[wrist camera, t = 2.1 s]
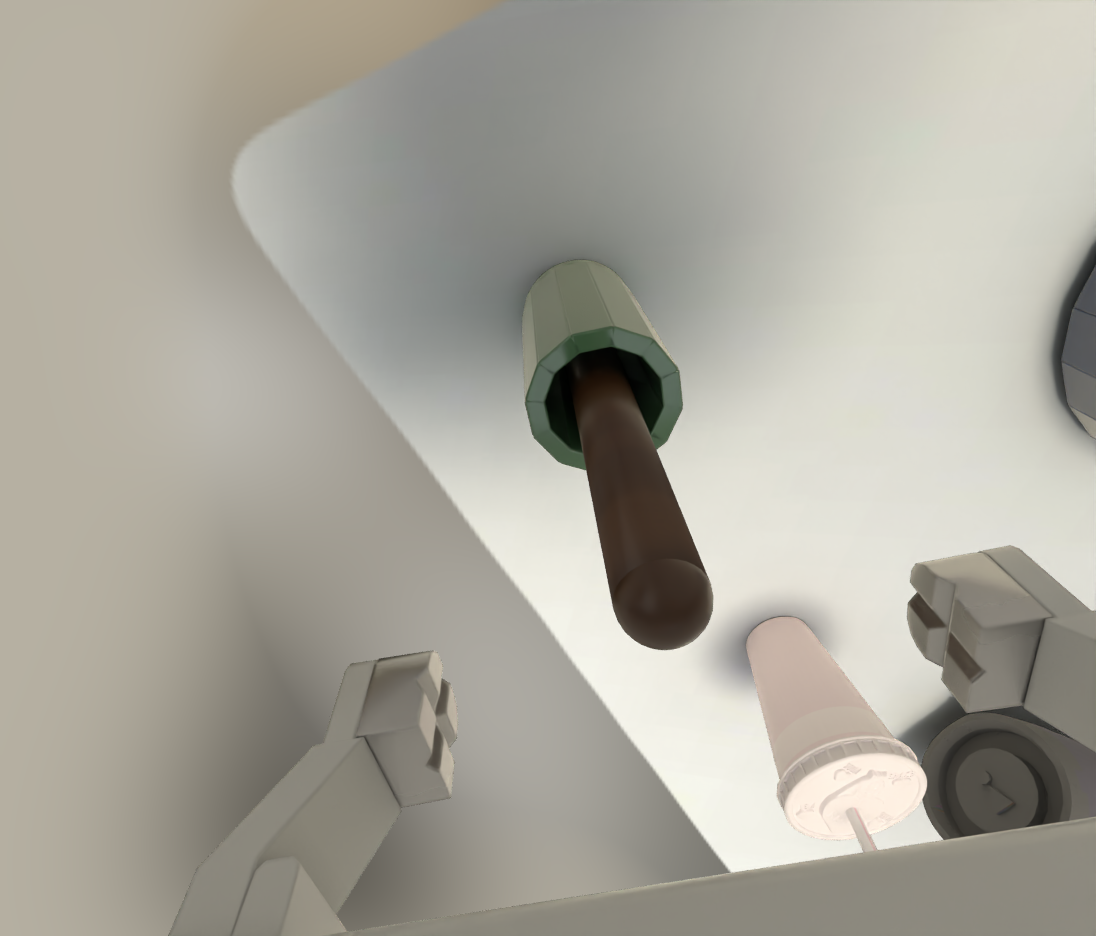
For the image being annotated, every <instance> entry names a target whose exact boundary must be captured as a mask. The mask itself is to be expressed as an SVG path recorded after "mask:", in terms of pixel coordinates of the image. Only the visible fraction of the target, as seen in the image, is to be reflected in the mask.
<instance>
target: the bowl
mask: <svg viewBox="0 0 1096 936" xmlns="http://www.w3.org/2000/svg"><path fill="white" fill-rule="evenodd" d="M1061 364H1062V371H1063V378H1064V384H1065V391H1066V398H1067V403H1068V404H1069V407H1070V408H1071V410H1072V411H1073V412H1074V414H1075V415H1076V417H1077V418H1078V419H1079V421H1080V422H1081V424H1082V425H1083V426H1084V428H1085V429H1086V431H1087V432H1088V433H1089V435H1090V436H1091V437H1093V438H1094V439H1096V265H1095V267H1094V269H1093V271H1092V272H1091V274H1090V276H1089V278H1088V280H1087V282H1086V284H1085V286H1084V288H1083V290H1082V291H1081V293H1080V295H1079V297H1078V299H1077V301H1076V303H1075V305H1074V308H1073V309H1072V312H1071V317H1070V322H1069V326H1068V331H1067V335H1066V340H1065V344H1064V349H1063V354H1062V358H1061Z"/></svg>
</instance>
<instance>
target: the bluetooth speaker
mask: <svg viewBox="0 0 1096 936" xmlns="http://www.w3.org/2000/svg"><path fill="white" fill-rule="evenodd" d="M921 768H922V769H923V771H924V773H925V775H926V778H927V789H926V792H925V795H924V797H923V799H922V800H923V804H924V807H925V810H926V813H927V815H928V817H929V819H930V821H931V823H932V825H933V826H934V828H935V829H936V831H937V832H938V833H939V835H940V836H941V837H942V838H943V839H944V840H948V839H954V838H961V837H967V836H973V835H980V834H986V833H993V832H999V831H1006V830H1012V829H1019V828H1025V827H1032V826H1038V825H1045V824H1051V823H1058V822H1064V821H1071V820H1077V819H1084V818H1090V817H1096V752H1094V751H1093V750H1091V749H1089V748H1088V747H1086V746H1084V745H1083V744H1081V743H1079V742H1078V741H1076V740H1074V739H1072V738H1068V737H1066V736H1063V735H1061V734H1058V733H1056V732H1053V731H1051V730H1048V729H1046V728H1043V727H1041V726H1038V725H1035V724H1032V723H1029V722H1026V721H1023V720H1020V719H1016V718H1012V717H1008V716H1004V715H1000V714H995V713H974V714H968V715H966V716H964V717H961V718H959V719H958V720H956V721H954V722H953V723H951V724H950V725H949V726H947V727H946V728H945V729H944V730H942V731H941V732H940V733H939V734H938V735H937V736H936V737H935V738H934V739H933V740H932V742H931V743H930V744H929V746H928V748H927V750H926V752H925V754H924V757H923V761H922V765H921Z"/></svg>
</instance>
